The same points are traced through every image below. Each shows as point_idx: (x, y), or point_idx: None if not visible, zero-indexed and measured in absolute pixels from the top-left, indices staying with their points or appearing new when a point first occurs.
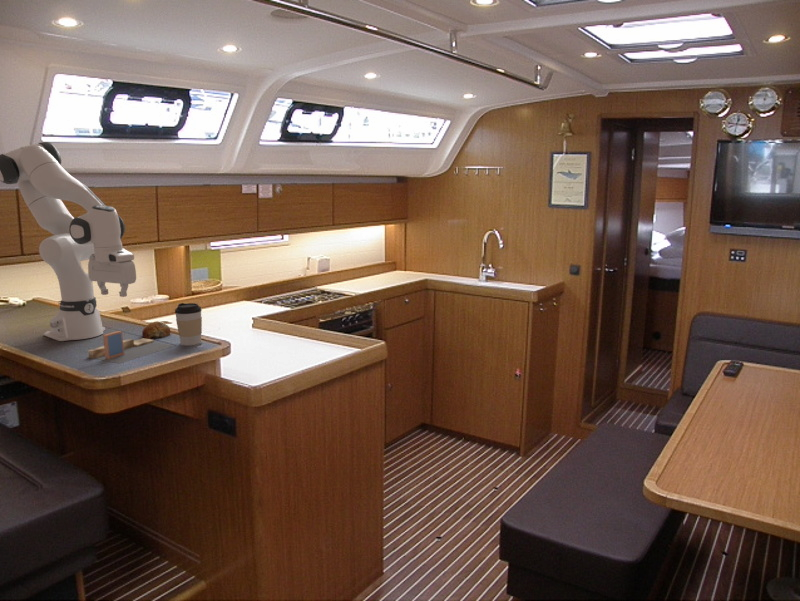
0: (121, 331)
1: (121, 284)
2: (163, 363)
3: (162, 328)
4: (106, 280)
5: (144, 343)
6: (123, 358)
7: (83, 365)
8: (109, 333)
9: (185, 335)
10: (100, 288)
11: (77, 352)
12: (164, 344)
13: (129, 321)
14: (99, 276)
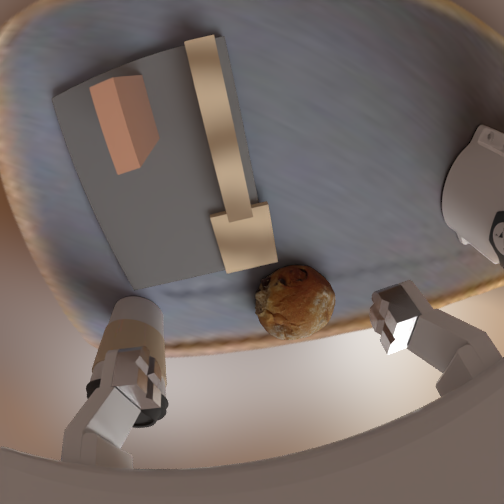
0: (117, 173)
1: (78, 456)
2: (17, 205)
3: (268, 323)
4: (317, 477)
5: (217, 242)
6: (95, 124)
7: (165, 6)
8: (117, 113)
9: (109, 326)
10: (439, 318)
11: (355, 69)
12: (169, 276)
13: (453, 296)
14: (482, 451)
